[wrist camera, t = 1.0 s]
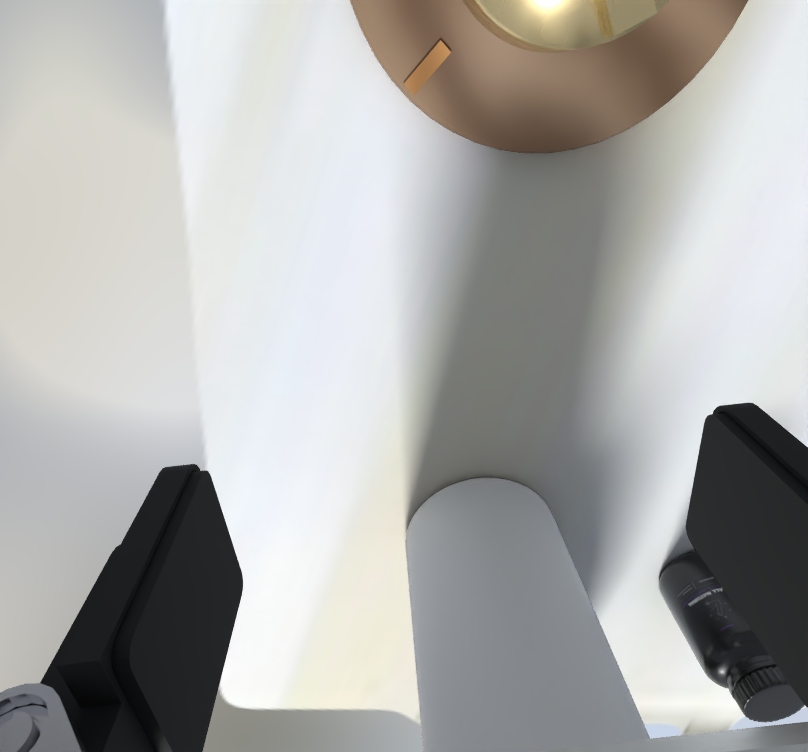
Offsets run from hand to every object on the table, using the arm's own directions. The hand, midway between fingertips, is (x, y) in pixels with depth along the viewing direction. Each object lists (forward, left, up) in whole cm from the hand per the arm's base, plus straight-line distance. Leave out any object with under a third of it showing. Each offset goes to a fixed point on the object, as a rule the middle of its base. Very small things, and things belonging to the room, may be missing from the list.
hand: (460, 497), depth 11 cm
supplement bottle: (+1, +42, -27) cm, 50 cm away
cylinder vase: (+12, +24, -27) cm, 39 cm away
